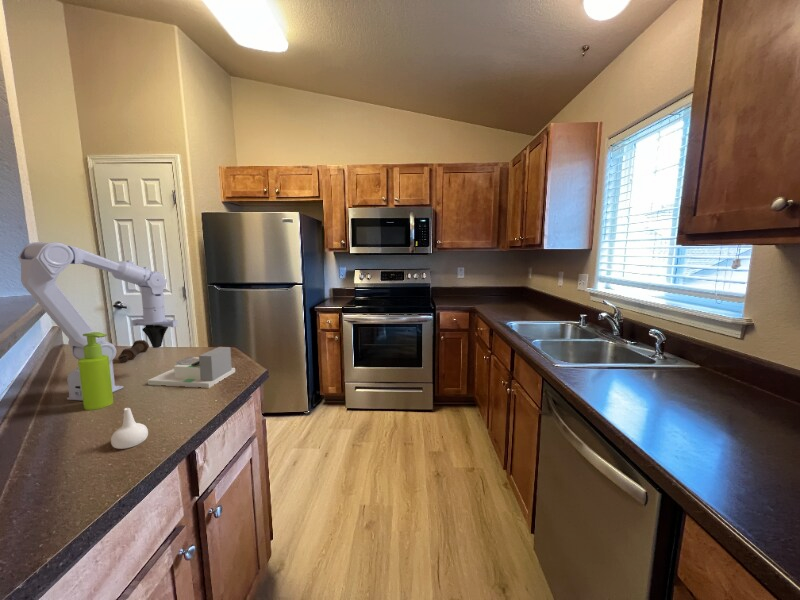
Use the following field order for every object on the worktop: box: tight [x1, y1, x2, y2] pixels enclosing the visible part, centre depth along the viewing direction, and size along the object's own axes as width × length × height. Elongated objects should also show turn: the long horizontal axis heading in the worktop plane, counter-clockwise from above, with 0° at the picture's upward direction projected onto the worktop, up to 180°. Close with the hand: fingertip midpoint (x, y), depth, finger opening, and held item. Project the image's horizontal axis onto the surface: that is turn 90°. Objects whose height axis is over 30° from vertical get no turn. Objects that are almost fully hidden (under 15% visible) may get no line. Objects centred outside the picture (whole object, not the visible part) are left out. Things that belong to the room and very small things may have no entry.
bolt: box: [117, 339, 150, 363], centre depth 127 cm, size 6×5×15 cm
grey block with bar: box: [176, 356, 200, 366], centre depth 107 cm, size 8×9×5 cm
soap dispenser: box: [77, 331, 114, 411], centre depth 86 cm, size 6×7×20 cm
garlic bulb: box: [110, 407, 149, 450], centre depth 71 cm, size 6×6×8 cm
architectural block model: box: [147, 346, 236, 389], centre depth 107 cm, size 20×14×10 cm
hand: (157, 347), depth 109 cm, fingers closed
